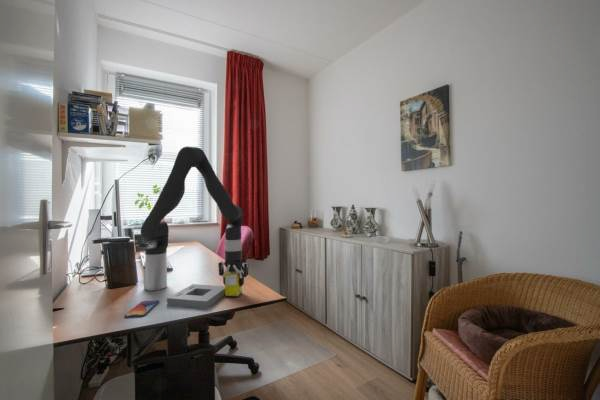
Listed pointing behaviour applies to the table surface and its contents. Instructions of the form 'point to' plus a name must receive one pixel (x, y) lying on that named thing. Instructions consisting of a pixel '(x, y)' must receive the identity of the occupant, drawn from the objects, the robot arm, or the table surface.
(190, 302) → the socket plate
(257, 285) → the table surface
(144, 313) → the smartphone
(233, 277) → the supplement box
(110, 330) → the table surface
